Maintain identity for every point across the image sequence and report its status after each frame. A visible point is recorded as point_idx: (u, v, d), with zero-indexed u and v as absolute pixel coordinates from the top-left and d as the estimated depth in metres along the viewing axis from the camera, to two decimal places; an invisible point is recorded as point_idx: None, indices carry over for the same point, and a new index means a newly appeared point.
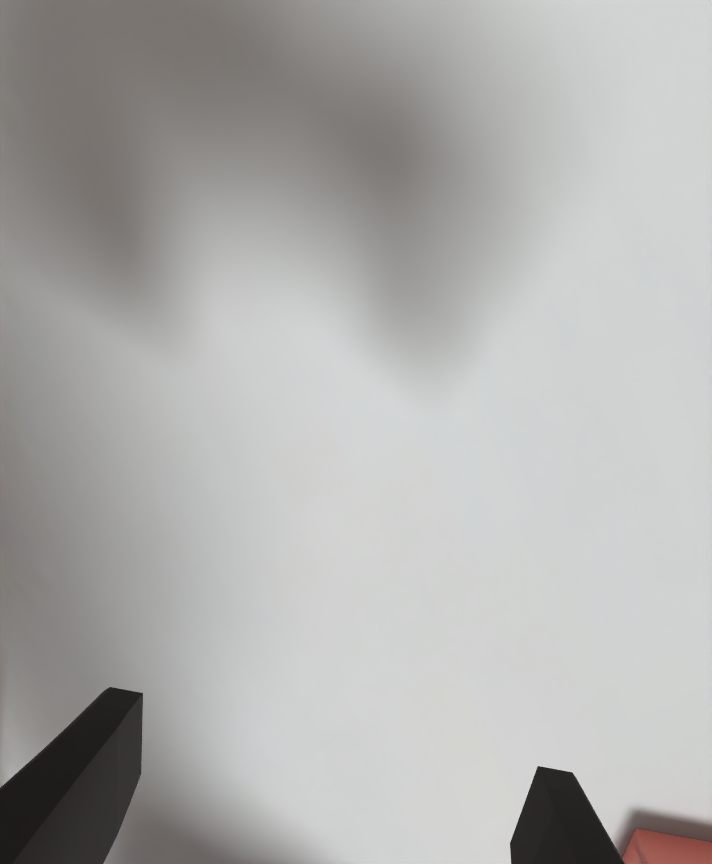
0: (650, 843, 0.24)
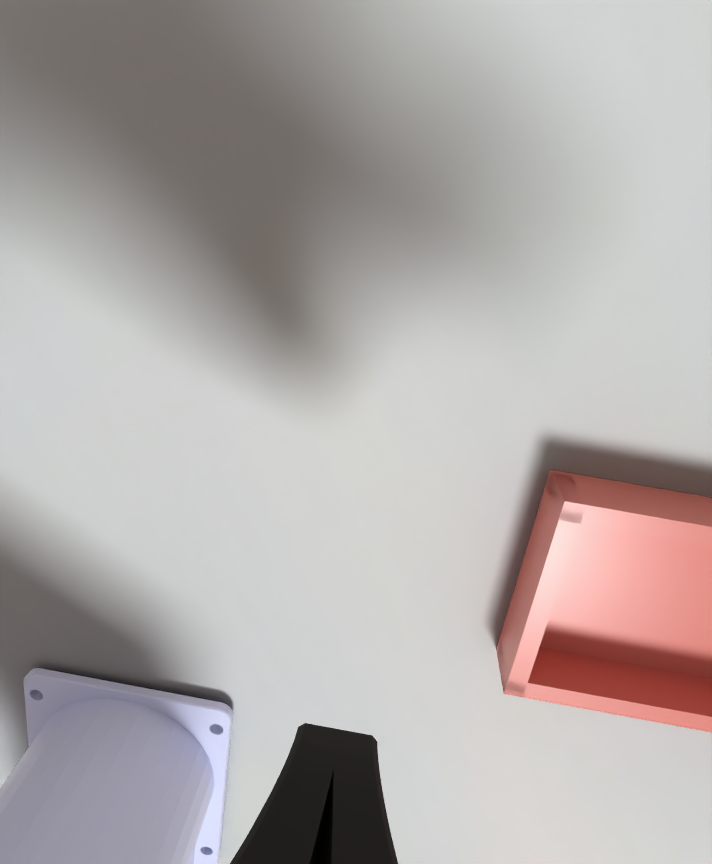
0: (567, 479, 0.18)
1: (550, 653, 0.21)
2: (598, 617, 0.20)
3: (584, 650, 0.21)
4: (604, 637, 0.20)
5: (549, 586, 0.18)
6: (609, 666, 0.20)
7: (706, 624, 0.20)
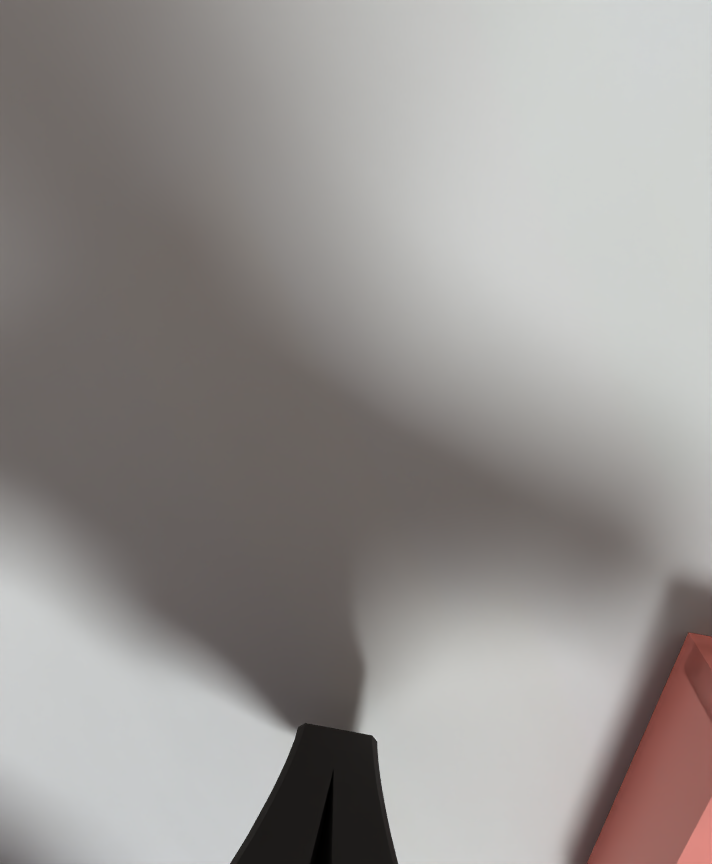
0: None
1: None
2: None
3: None
4: None
5: (700, 860, 0.10)
6: None
7: None
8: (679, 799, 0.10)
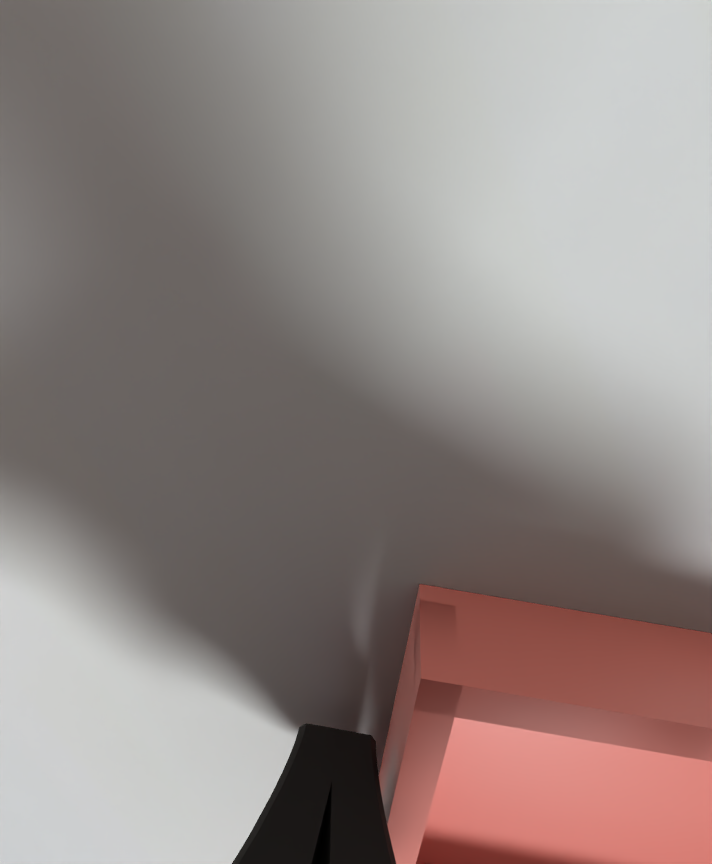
0: (443, 615, 0.10)
1: None
2: (519, 822, 0.12)
3: None
4: (532, 851, 0.12)
5: (410, 816, 0.10)
6: None
7: (700, 837, 0.12)
8: (397, 756, 0.10)
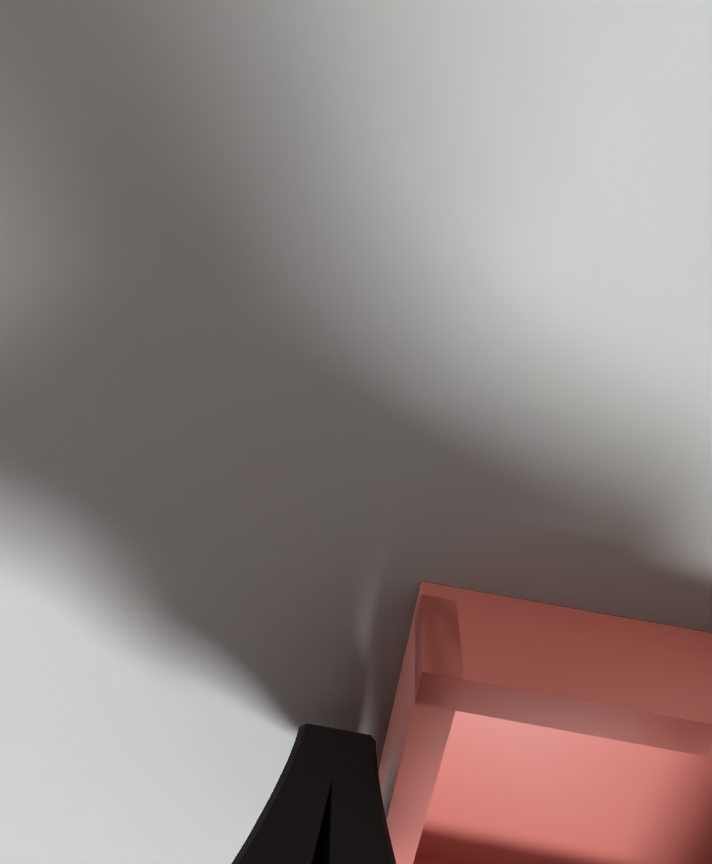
0: (445, 610, 0.10)
1: None
2: (518, 818, 0.12)
3: None
4: (529, 847, 0.12)
5: (409, 809, 0.10)
6: None
7: (698, 834, 0.12)
8: (397, 750, 0.10)
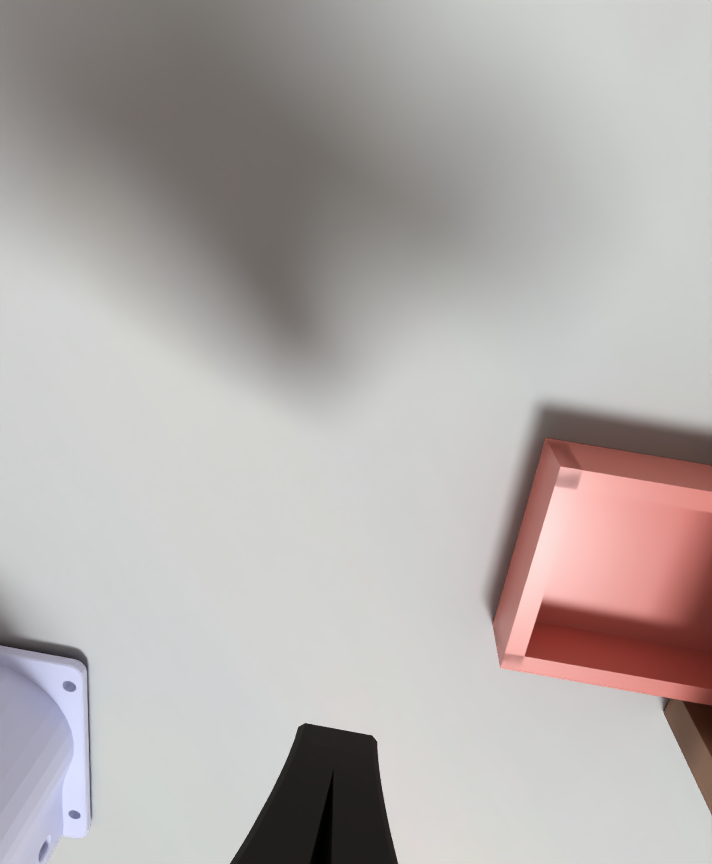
0: (562, 447, 0.18)
1: (547, 628, 0.20)
2: (596, 590, 0.20)
3: (582, 625, 0.20)
4: (602, 611, 0.20)
5: (545, 555, 0.18)
6: (607, 640, 0.20)
7: (706, 596, 0.20)
8: (536, 526, 0.18)
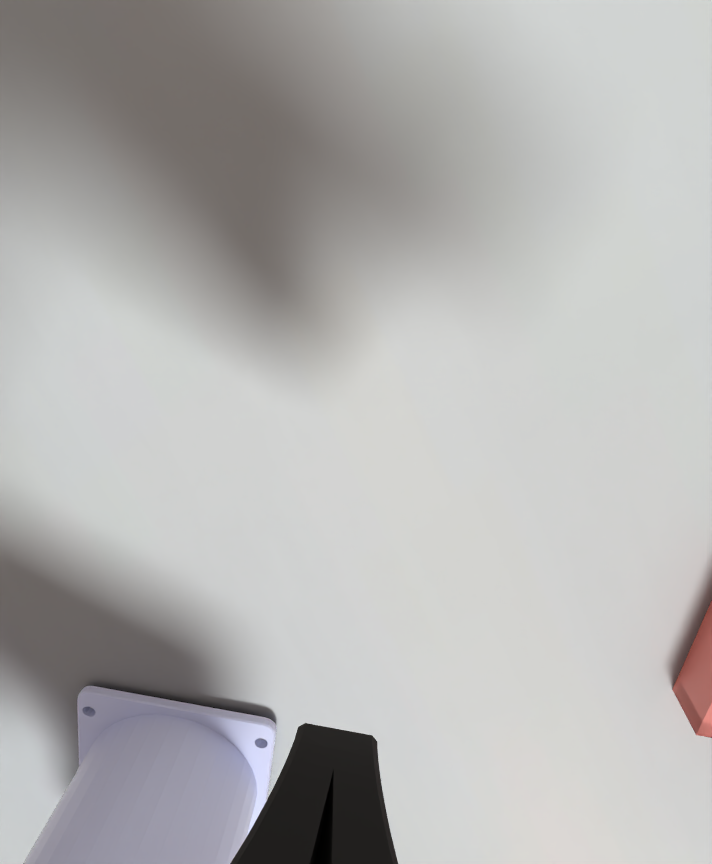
0: None
1: None
2: None
3: None
4: None
5: None
6: None
7: None
8: None
